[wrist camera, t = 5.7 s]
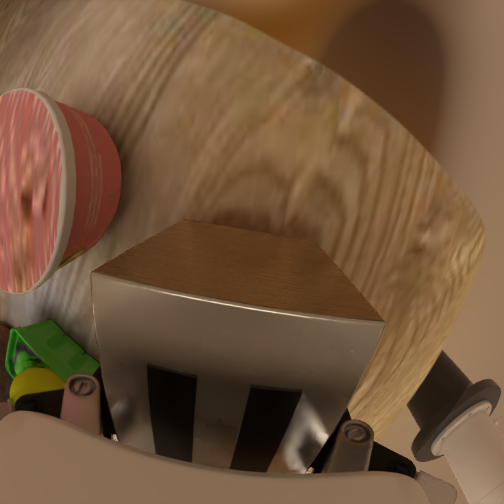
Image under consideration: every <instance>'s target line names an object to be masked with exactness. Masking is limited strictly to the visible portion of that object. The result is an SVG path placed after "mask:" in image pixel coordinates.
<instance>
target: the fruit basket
mask: <svg viewBox="0 0 504 504" xmlns="http://www.w3.org/2000/svg"><path fill="white" fill-rule="evenodd" d="M99 366H100V364H99V363H98V362H97V361H96V360H95V359H94V358H92V357H91V356H90V355H88V354H87V353H84V351H83V350H82V348H81V347H80V346H79V345H78V344H77V343H75V342H74V341H73V340H72V339H71V338H70V337H69V336H67V335H65V334H64V332H63V331H62V329H61V328H60V327H59V326H58V325H57V324H56V323H55V322H54V321H53V320H52V319H50V320H46V321H43V322H40V323H36V324H33V325H30V326H26V327H23V328H22V327H17V328H12V329H11V330H10V337H9V341H8V346H7V353H6V360H5V367H6V369H7V371H8V373H9V374H10V375H11V377H12V378H13V379H14V380H13V382H12V384H11V388H10V399H8V400H7V401H11V402H12V404H14V403H15V402H16V400H17V399H18V398H19V397H21V396H22V395H25V394H31V393H38V392H45V391H52V390H58V389H64V388H65V384H66V381H67V380H68V378H69V377H71V376H73V375H75V374H79V373H85V374H89V375H93V374H94V372H95V371H96V370H97V369H98V367H99Z"/></svg>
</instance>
